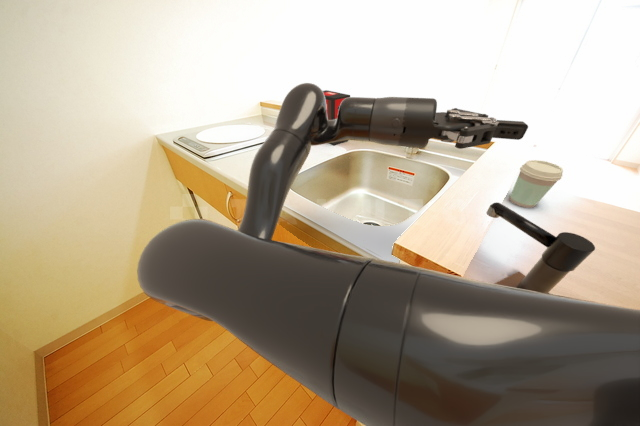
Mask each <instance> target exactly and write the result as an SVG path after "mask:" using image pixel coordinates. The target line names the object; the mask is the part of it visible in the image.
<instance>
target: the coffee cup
mask: <svg viewBox="0 0 640 426" xmlns="http://www.w3.org/2000/svg"><path fill="white" fill-rule="evenodd" d="M563 173H564V169H563V168H562V167H561V166H560V165H558V164H556V163H553V162H550V161H545V160H539V159H531V160H527V161H526V162H525V163H523V165H521V167H519V173H518V175H517V179H516V181H515V183H514V186H513V189H512V191H511V193H510V195H509V198H508V199H509V201H510V202H511V203H512V204H514V205H516V206H518V207H521V208H525V209H532V208H534V207H536V206H537V205H538V203H539V202H540V201H541V200H542V199H543V198H544V197H545V196H546V194H547V193H548V192H549V191H550V190H551V189H552V188H553V187H554V186H555V184H556V183H557V182H558V181H560V180H562V177H563Z"/></svg>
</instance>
